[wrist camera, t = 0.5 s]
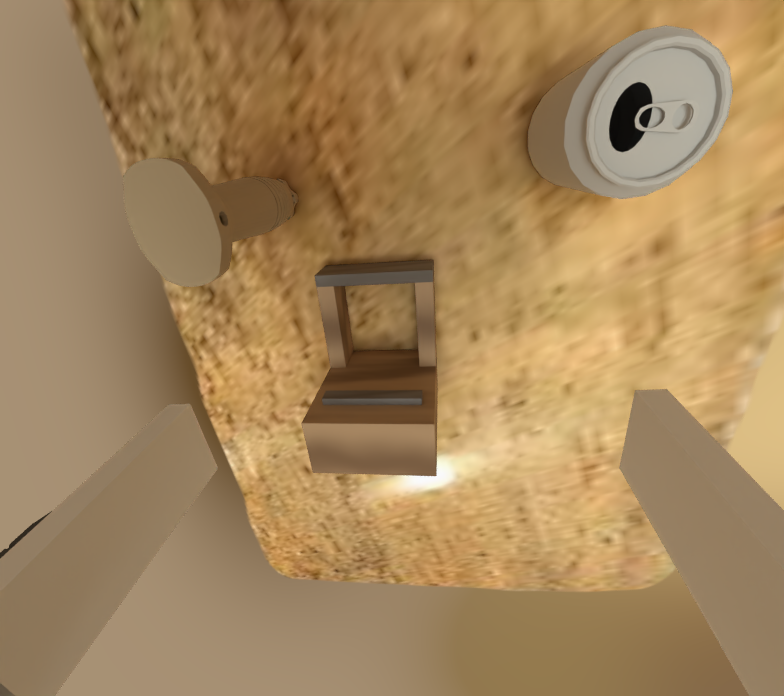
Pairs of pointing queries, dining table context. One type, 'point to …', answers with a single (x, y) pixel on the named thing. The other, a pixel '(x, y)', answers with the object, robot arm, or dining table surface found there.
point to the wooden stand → (375, 383)
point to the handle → (198, 216)
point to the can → (633, 115)
